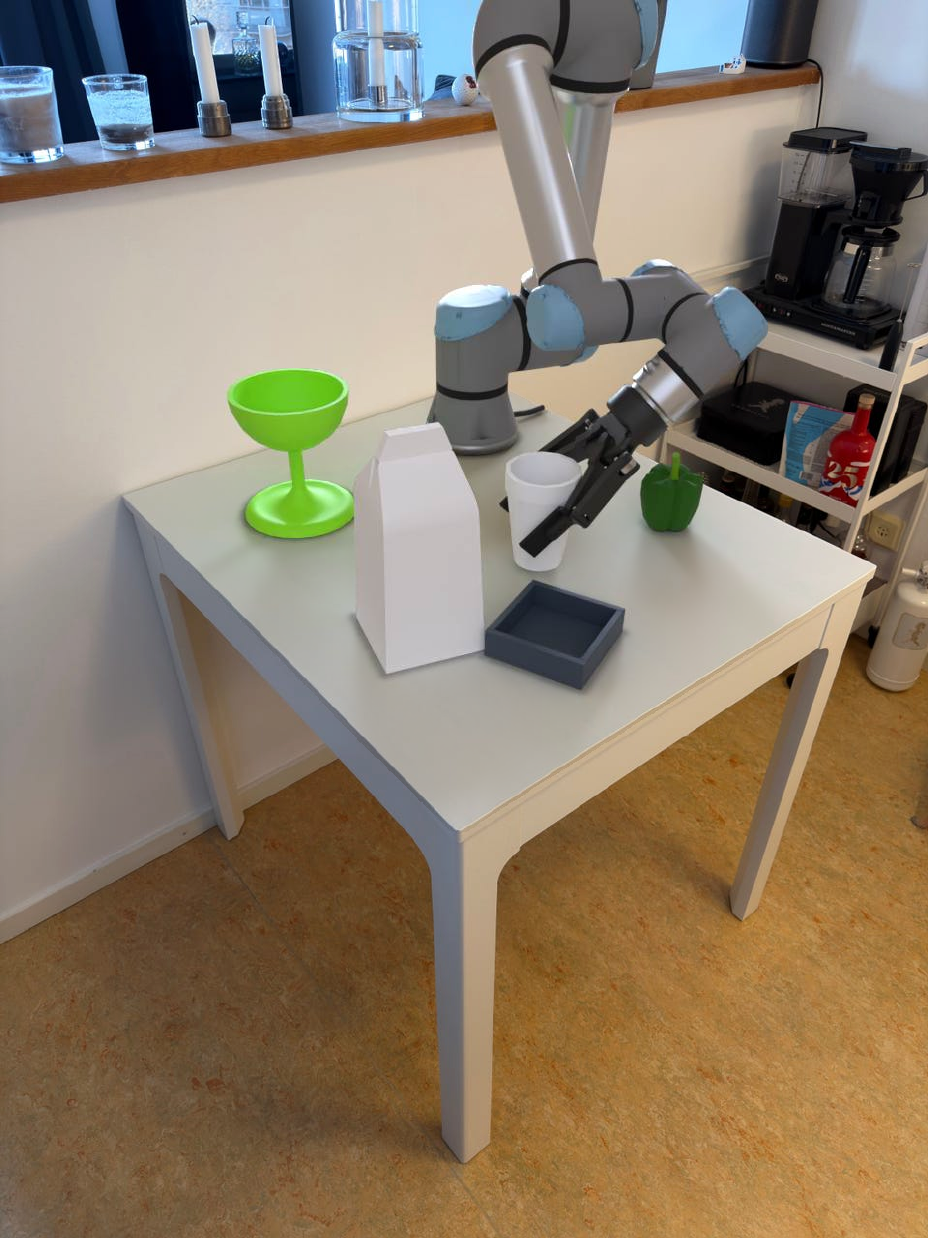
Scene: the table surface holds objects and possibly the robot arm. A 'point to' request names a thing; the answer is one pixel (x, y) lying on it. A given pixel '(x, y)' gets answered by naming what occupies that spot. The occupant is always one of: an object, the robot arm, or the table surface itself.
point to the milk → (417, 551)
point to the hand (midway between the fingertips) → (516, 529)
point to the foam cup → (538, 501)
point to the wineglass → (293, 447)
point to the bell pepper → (670, 496)
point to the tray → (555, 633)
